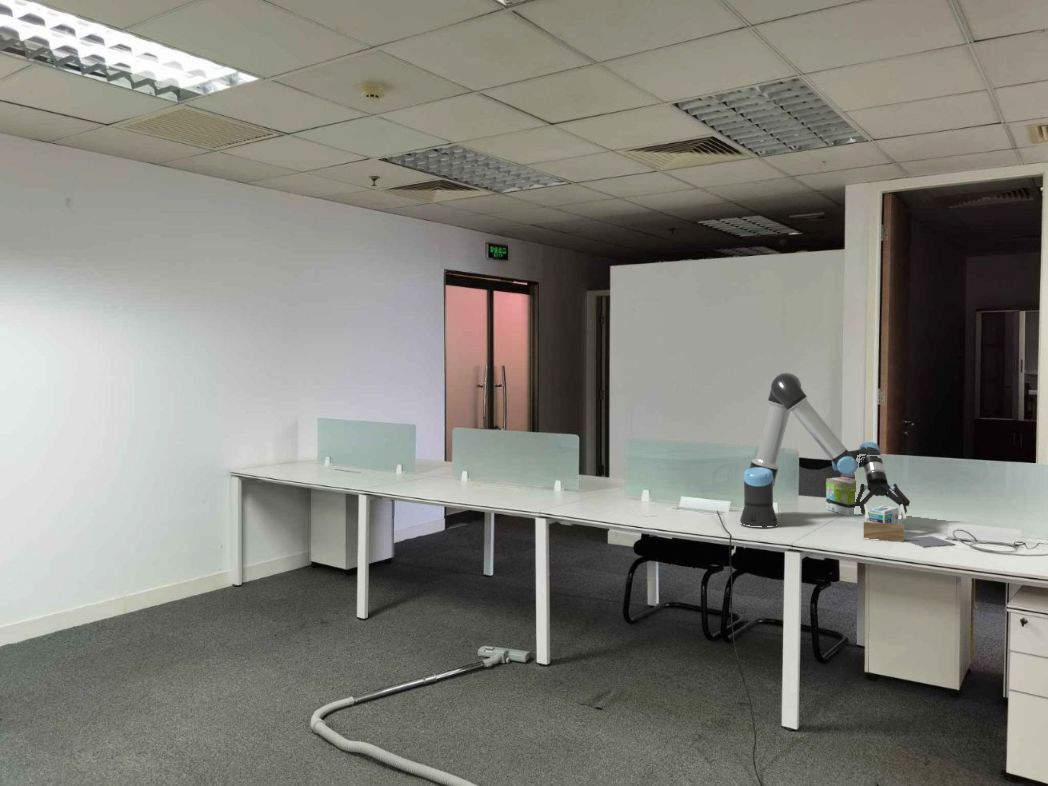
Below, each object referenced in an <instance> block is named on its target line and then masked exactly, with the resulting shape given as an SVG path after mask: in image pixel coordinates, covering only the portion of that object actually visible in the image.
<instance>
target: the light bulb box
mask: <svg viewBox="0 0 1048 786" xmlns="http://www.w3.org/2000/svg"><path fill="white" fill-rule="evenodd" d="M899 513H900V508H899V507H895V506H890V505H883V504H882V505H880V506H876V507H872V508H869V509H868V515H869V520H868V522H872V523H888V524H899Z"/></svg>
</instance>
